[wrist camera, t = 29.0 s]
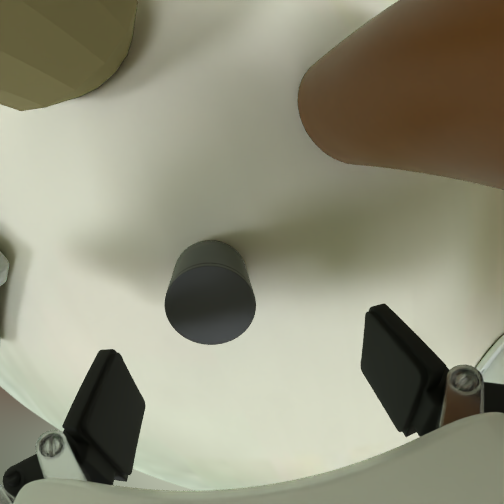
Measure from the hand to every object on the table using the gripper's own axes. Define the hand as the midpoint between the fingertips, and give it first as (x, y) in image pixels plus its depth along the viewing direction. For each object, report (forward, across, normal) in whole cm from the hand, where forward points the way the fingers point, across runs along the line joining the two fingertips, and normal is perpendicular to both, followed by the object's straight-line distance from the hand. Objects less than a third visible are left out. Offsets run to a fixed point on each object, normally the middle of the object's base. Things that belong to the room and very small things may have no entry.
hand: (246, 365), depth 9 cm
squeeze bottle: (+6, +6, -15) cm, 18 cm away
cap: (+6, +1, -1) cm, 7 cm away
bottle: (+6, -8, -9) cm, 14 cm away
